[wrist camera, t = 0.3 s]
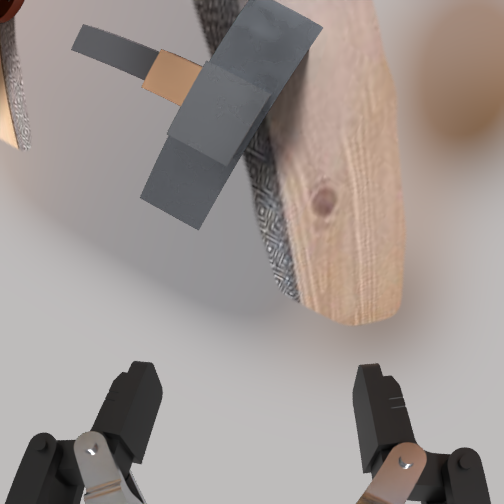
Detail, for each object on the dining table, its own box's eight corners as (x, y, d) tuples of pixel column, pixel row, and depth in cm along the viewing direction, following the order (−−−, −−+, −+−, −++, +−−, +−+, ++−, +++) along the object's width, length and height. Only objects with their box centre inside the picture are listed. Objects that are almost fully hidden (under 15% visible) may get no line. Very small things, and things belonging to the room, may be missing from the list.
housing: (175, 169, 37) (126, 209, 25) (261, 21, 29) (252, -21, 16) (219, 193, 38) (190, 245, 26) (309, 47, 30) (329, 19, 17)
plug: (82, 54, 31) (59, 52, 26) (97, 23, 29) (75, 18, 24) (194, 105, 34) (182, 107, 29) (213, 72, 32) (204, 68, 27)
